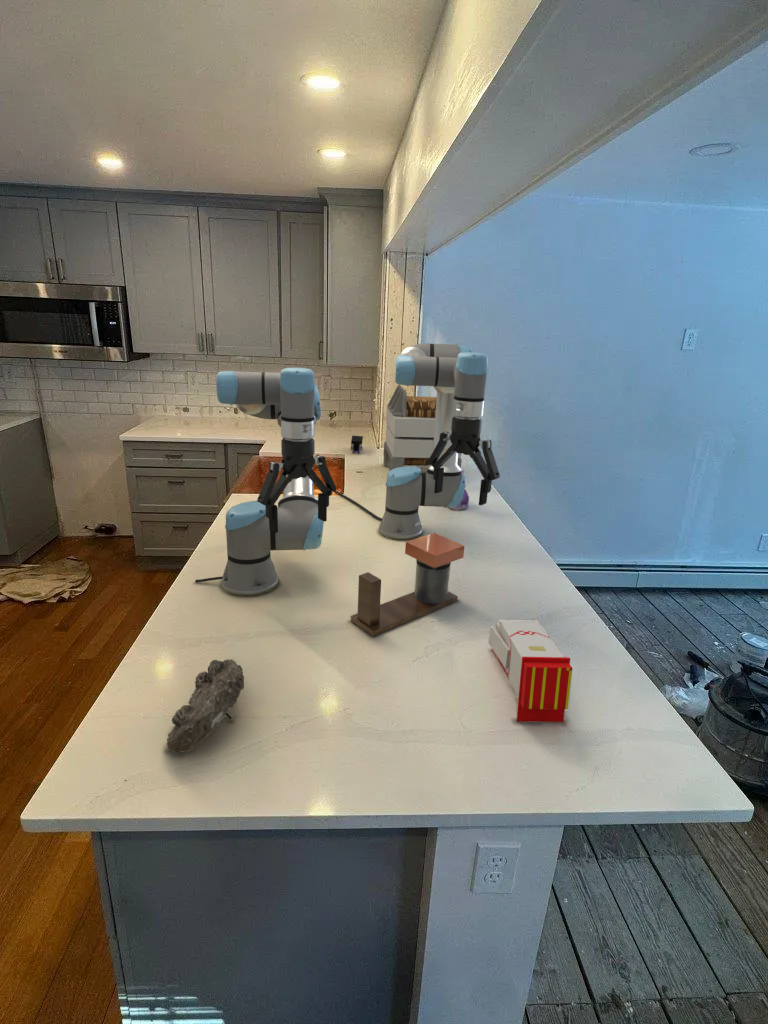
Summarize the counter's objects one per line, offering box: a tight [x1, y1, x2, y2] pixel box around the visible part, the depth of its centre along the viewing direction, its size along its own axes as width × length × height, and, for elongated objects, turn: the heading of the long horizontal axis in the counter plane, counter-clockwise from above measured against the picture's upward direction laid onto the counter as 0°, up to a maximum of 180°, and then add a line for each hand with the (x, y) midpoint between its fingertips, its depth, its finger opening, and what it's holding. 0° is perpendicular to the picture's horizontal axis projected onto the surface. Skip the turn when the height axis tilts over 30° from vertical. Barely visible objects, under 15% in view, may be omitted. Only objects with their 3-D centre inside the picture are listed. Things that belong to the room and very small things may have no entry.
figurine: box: [449, 469, 470, 511], centre depth 227 cm, size 9×10×15 cm
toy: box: [488, 619, 573, 723], centre depth 122 cm, size 12×13×30 cm
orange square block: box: [404, 532, 465, 568], centre depth 150 cm, size 11×11×5 cm
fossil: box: [166, 658, 245, 754], centre depth 106 cm, size 22×10×15 cm
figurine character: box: [350, 435, 364, 454], centre depth 309 cm, size 7×8×15 cm
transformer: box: [383, 384, 463, 472], centre depth 268 cm, size 34×33×41 cm
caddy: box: [350, 559, 459, 637], centre depth 147 cm, size 30×9×14 cm, turn 131°
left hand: (298, 525), depth 136 cm, fingers open, 13 cm apart
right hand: (459, 498), depth 148 cm, fingers open, 13 cm apart
